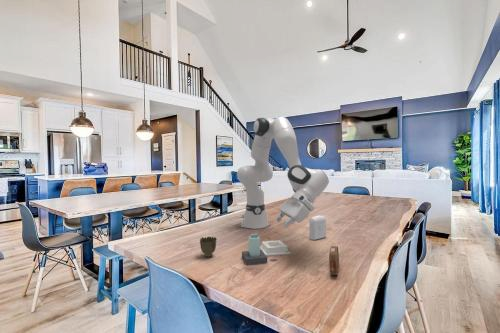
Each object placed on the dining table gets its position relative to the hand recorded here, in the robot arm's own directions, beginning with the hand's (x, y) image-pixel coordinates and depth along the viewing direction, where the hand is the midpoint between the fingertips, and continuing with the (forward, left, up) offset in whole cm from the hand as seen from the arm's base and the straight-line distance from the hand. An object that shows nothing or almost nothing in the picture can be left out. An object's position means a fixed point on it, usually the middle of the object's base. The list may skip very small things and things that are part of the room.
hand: (280, 223), depth 114 cm
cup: (-9, -31, -15) cm, 36 cm away
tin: (+17, +16, -15) cm, 28 cm away
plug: (0, -12, -15) cm, 19 cm away
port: (-9, 0, -15) cm, 18 cm away
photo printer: (-21, +29, -15) cm, 39 cm away
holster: (0, -12, -15) cm, 19 cm away
